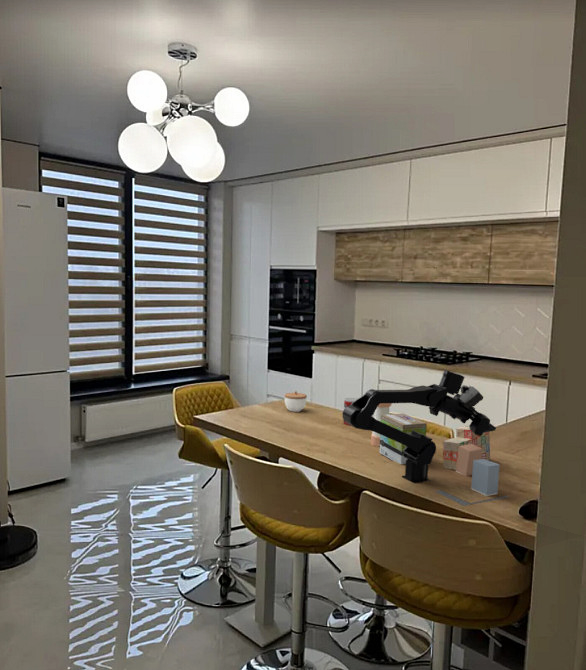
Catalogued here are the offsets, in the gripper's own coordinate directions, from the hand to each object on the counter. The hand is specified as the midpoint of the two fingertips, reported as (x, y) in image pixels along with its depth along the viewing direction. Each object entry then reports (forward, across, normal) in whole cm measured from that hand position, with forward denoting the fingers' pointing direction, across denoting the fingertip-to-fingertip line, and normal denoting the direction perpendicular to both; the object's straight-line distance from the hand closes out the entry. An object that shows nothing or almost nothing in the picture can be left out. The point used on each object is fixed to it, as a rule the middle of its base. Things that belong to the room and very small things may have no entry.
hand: (487, 422), depth 185 cm
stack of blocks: (+7, +6, +18) cm, 20 cm away
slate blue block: (-4, -20, +16) cm, 25 cm away
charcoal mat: (-9, -21, +18) cm, 29 cm away
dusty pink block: (+1, -3, +18) cm, 18 cm away
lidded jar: (-23, +92, +54) cm, 108 cm away
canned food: (-7, +64, +40) cm, 76 cm away
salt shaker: (-10, +32, +33) cm, 47 cm away
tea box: (-11, +14, +28) cm, 34 cm away
